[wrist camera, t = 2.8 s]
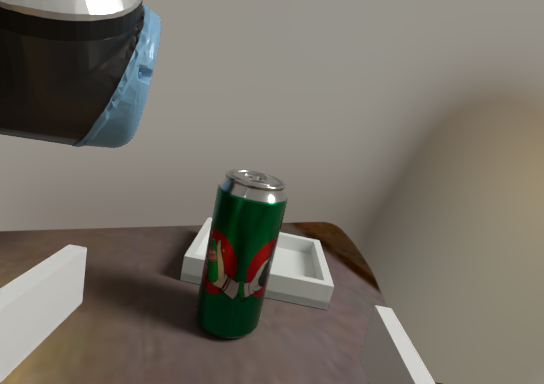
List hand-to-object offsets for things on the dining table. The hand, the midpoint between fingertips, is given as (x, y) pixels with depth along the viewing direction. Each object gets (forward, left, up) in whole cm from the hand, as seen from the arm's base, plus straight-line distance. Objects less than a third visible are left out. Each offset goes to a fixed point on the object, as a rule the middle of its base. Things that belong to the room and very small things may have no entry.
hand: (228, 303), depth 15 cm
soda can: (0, +10, -8) cm, 13 cm away
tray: (+2, +20, -8) cm, 22 cm away
